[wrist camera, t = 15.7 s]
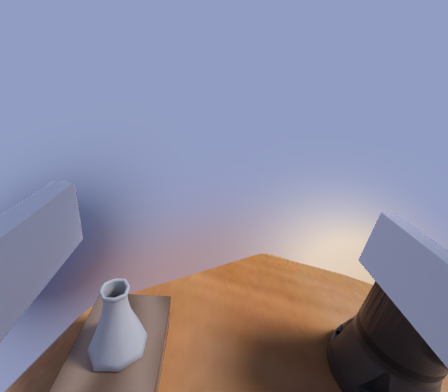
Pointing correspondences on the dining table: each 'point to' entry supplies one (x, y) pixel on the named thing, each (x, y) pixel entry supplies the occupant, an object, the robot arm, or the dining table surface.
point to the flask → (116, 330)
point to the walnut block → (133, 374)
